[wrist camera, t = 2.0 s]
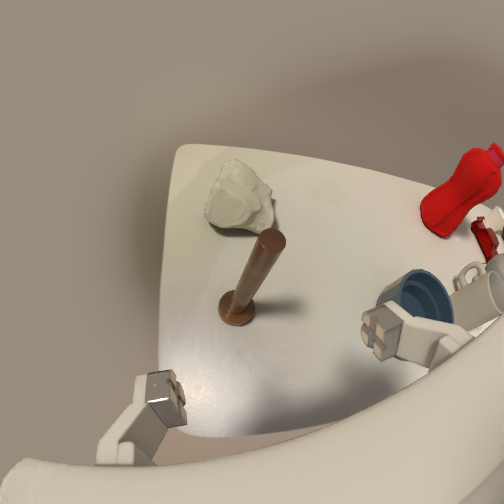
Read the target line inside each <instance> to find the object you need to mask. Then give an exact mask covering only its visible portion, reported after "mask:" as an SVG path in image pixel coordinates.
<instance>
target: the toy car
mask: <svg viewBox="0 0 504 504" xmlns="http://www.w3.org/2000/svg"><path fill="white" fill-rule="evenodd" d="M484 219H485V218H484V216H483V217H477V221H474V222H473V223H472V222H471V225H472V227H471V231H472V232H473V233H476V235H477V237H478V239H479V241H480V244H481V246H482V248H483V250H484V252H485V255H486V257H487V256H488V257H487V258H486V263H488V261H489V260H490V259H492V258H493V257H494V256H496V255H498V253H497V247H498V245H499V242H498V239H497V237H496V235H495V232H494V230H493V229H492V228H491V227H489V228H486V227H485V225H484V223H483V220H484ZM473 226H474V228H473ZM473 230H474V231H473ZM475 230H476V231H475ZM488 258H489V260H488ZM487 260H488V261H487Z"/></svg>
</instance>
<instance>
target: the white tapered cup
mask: <svg viewBox="0 0 504 504" xmlns="http://www.w3.org/2000/svg"><path fill="white" fill-rule="evenodd" d="M484 222H485V225H486V227H487V228H489V227H491V228H492V229H493V230H494V232H496V231H498V230H499V229H501V228H502V227H504V212H503V210H502V209H501V208H500V207H499V206H498V205H497V206H496V207H495V208H494V209H493V210H492V211H491V213H490V214H489V215H488V216H487V217H486V218H485V219H484Z"/></svg>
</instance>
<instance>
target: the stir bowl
mask: <svg viewBox="0 0 504 504" xmlns="http://www.w3.org/2000/svg"><path fill="white" fill-rule="evenodd" d="M390 300H391V301H394V302H395V303H397V304H398V305H399V306H400V307H402V308H403V309H404V310H405V311H406V312H408V313H409V314H410V315H411V316H413V317H416V316H418V317H422V318H427V319H432V320H436V321H441V322H446V323H451V324H454V312H453V307H452V303H451V300H450V297H449V295H448V293H447V291H446V289H445V287H444V286H443V285H442V283H441V282H440V281H439V280H438V278H436V277H435V276H434V275H433V274H431V273H430V272H428V271H425V270H422V269H416V270H412V271H410V272H408V273H407V274H405V275H404V276H402V277H401V278H399V279H398V280H396V281H395V282H393V283H392V284H390V285H389V286H387V287H386V288H385V289H384V290H383V292H382V293H381V294H380V296H379V299H378V302H377V305H376V307H377V306H379V305H382V304H384V303H386V302H388V301H390ZM394 356H395V357H397V358H399V359H401V360H406V359H404V358H401V357H399V356H396V355H394ZM406 361H408V360H406Z"/></svg>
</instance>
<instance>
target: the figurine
mask: <svg viewBox="0 0 504 504" xmlns="http://www.w3.org/2000/svg"><path fill="white" fill-rule="evenodd" d="M484 264H487V265H486V267H485V270H486V272H487V273H488V272H490V271H495V272H496V273H497V274H498V275H499V276H500V278H501V279H502V281H503V283H504V254H498V255H496V256H494V257H493V258H492V259H490V260H489V262H488V263H484ZM478 278H479V275H478V276H475V277H474V278H473V282H474V281H475V280H477V279H478Z"/></svg>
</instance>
